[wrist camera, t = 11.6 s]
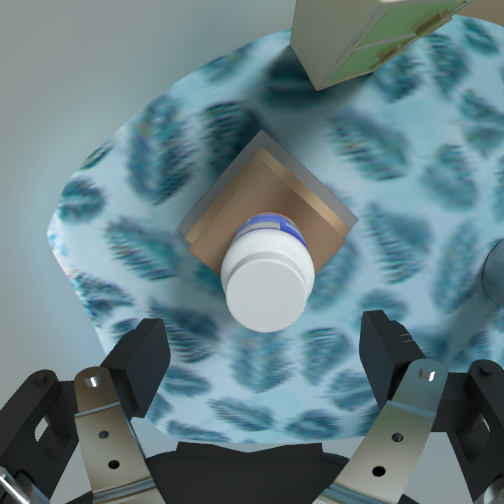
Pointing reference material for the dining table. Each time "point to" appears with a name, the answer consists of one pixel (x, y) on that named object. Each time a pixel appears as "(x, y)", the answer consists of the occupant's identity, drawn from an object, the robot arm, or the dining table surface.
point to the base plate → (287, 161)
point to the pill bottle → (267, 273)
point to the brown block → (262, 201)
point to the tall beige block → (361, 33)
